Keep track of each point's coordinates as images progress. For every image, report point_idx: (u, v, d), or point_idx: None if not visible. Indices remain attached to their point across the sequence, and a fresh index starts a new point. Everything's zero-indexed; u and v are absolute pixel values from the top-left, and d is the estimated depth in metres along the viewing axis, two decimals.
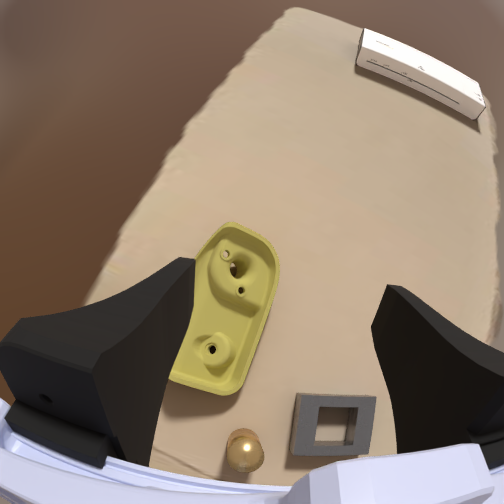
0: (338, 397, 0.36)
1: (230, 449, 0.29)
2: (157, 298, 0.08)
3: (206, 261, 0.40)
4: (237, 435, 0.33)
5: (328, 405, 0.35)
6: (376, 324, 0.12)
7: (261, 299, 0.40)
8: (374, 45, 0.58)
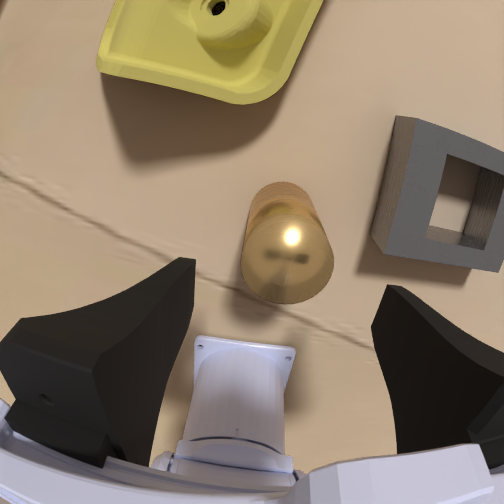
0: (480, 144, 0.14)
1: (250, 245, 0.13)
2: (157, 298, 0.08)
3: None
4: (270, 201, 0.16)
5: (462, 156, 0.15)
6: (376, 324, 0.12)
7: None
8: None
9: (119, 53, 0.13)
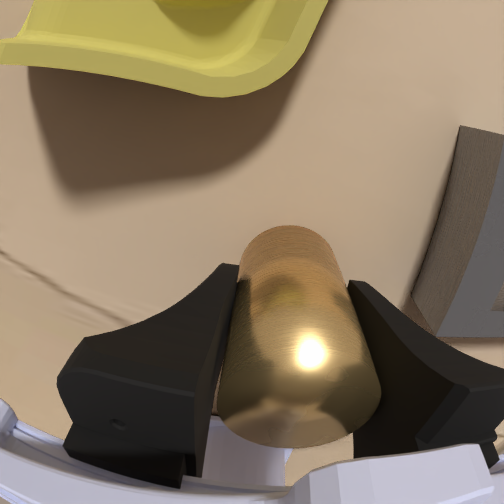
0: None
1: (231, 385, 0.07)
2: (218, 308, 0.08)
3: None
4: (270, 275, 0.09)
5: None
6: None
7: None
8: None
9: (30, 29, 0.06)
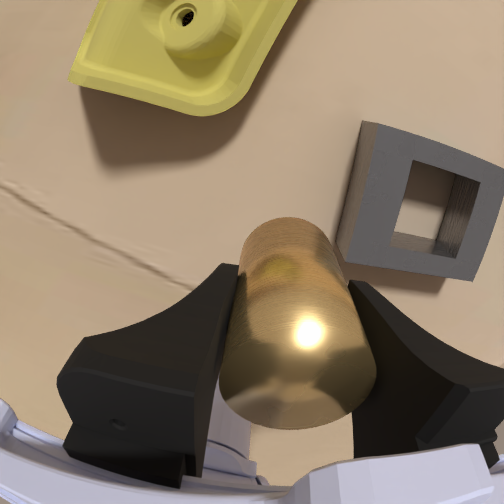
0: (450, 149, 0.15)
1: (234, 359, 0.07)
2: (217, 308, 0.08)
3: None
4: (271, 260, 0.10)
5: (430, 161, 0.15)
6: None
7: None
8: None
9: (91, 60, 0.13)
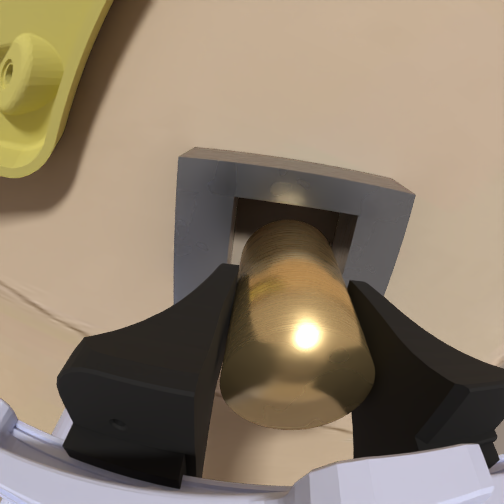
0: (296, 174, 0.12)
1: (240, 356, 0.07)
2: (218, 308, 0.08)
3: None
4: (278, 261, 0.10)
5: (263, 196, 0.13)
6: None
7: None
8: None
9: None
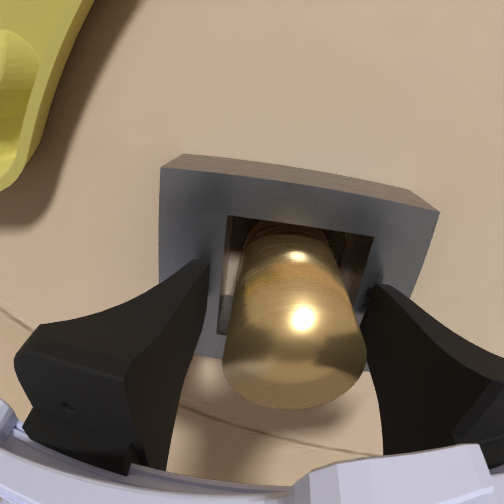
0: (302, 189, 0.10)
1: (241, 335, 0.08)
2: (177, 301, 0.08)
3: None
4: (277, 250, 0.11)
5: (262, 214, 0.11)
6: (364, 323, 0.12)
7: None
8: None
9: None
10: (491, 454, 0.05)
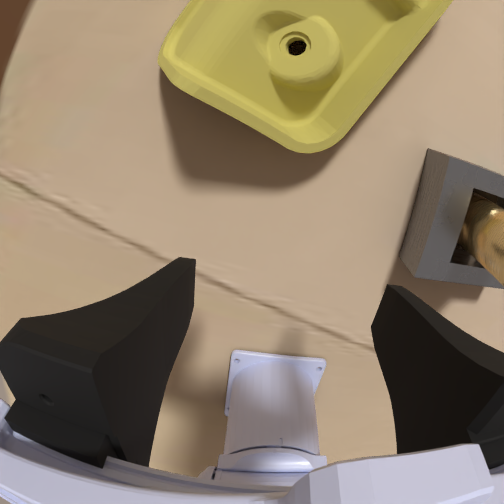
0: (502, 178, 0.15)
1: None
2: (157, 298, 0.08)
3: None
4: (494, 208, 0.16)
5: (486, 189, 0.16)
6: (376, 324, 0.12)
7: None
8: None
9: (190, 64, 0.14)
10: None
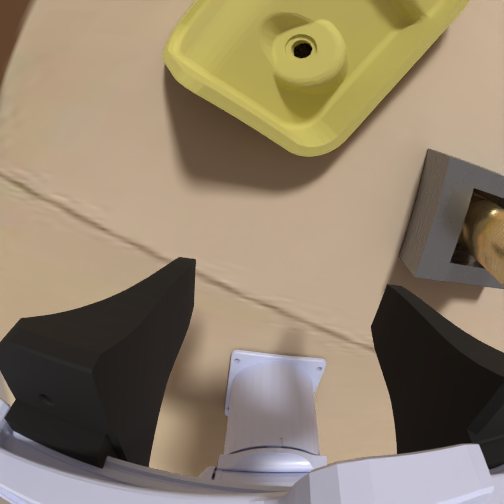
0: (502, 178, 0.15)
1: None
2: (157, 298, 0.08)
3: None
4: (494, 208, 0.16)
5: (486, 189, 0.16)
6: (376, 324, 0.12)
7: (431, 6, 0.12)
8: None
9: (194, 61, 0.14)
10: None
